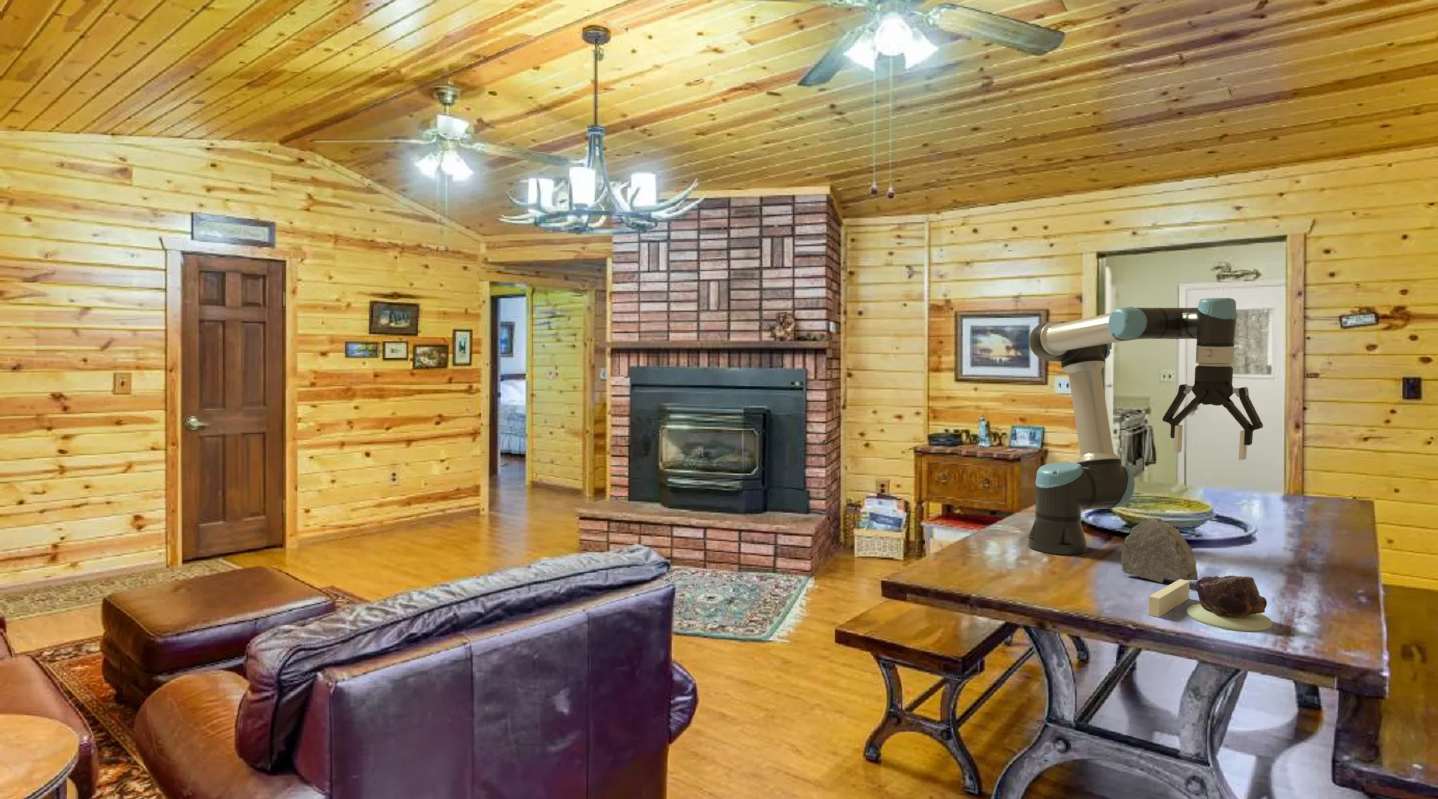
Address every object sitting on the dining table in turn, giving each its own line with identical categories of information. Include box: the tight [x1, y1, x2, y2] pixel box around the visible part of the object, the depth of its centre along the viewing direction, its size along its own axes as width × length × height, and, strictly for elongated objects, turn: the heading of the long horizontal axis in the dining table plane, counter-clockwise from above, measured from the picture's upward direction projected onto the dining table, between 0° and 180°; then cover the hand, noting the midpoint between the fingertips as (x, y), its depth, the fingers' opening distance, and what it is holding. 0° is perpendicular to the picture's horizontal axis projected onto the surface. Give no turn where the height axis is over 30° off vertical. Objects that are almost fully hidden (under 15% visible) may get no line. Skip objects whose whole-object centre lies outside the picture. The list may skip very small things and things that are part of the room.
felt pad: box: [1186, 603, 1273, 632], centre depth 167 cm, size 15×15×1 cm
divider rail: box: [1147, 579, 1191, 618], centre depth 174 cm, size 2×18×4 cm, turn 132°
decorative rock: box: [1120, 517, 1199, 583], centre depth 193 cm, size 16×7×15 cm, turn 43°
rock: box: [1193, 574, 1268, 617], centre depth 167 cm, size 12×9×10 cm
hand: (1209, 455), depth 188 cm, fingers open, 13 cm apart
